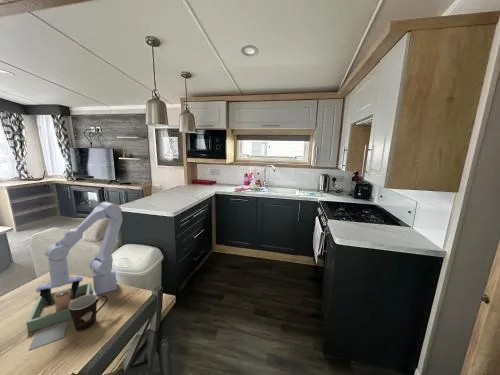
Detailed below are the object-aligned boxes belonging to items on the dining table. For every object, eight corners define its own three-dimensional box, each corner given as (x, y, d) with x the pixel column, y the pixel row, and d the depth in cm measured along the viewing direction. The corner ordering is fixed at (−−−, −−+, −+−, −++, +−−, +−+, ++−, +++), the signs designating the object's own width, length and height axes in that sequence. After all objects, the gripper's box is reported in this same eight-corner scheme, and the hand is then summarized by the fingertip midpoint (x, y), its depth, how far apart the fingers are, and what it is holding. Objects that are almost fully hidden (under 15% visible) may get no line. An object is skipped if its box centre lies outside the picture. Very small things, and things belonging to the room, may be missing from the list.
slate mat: (67, 321, 82) (67, 320, 82) (63, 337, 74) (63, 337, 74) (36, 331, 77) (36, 331, 77) (28, 350, 69) (28, 350, 69)
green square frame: (91, 289, 101) (90, 282, 101) (88, 312, 87) (87, 303, 86) (40, 303, 91) (39, 295, 90) (27, 332, 76) (26, 322, 76)
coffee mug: (68, 337, 75) (65, 313, 73) (75, 320, 82) (72, 298, 81) (106, 325, 80) (104, 302, 79) (109, 311, 88) (107, 290, 86)
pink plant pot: (72, 302, 92) (70, 288, 91) (71, 309, 88) (69, 294, 87) (57, 306, 89) (55, 292, 88) (54, 314, 85) (52, 299, 84)
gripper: (82, 263, 94) (84, 290, 96) (37, 272, 85) (41, 301, 87) (80, 270, 88) (83, 298, 90) (32, 281, 80) (37, 312, 82)
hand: (62, 301), depth 88 cm, fingers open, 7 cm apart
